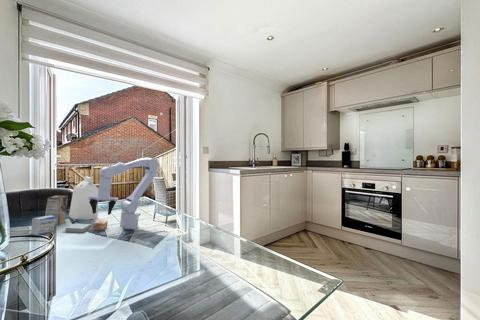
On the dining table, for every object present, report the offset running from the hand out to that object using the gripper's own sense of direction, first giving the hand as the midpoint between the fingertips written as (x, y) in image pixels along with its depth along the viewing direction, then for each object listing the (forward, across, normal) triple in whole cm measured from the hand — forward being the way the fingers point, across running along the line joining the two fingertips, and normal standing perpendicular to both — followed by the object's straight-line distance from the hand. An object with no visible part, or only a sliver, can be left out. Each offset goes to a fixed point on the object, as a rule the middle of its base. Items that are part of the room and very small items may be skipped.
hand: (101, 213), depth 126 cm
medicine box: (+10, -22, -10) cm, 26 cm away
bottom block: (+10, -9, -4) cm, 14 cm away
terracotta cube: (+10, 0, 0) cm, 10 cm away
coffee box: (+10, -25, +5) cm, 27 cm away
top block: (+8, -9, -4) cm, 13 cm away
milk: (+10, -20, +25) cm, 33 cm away
